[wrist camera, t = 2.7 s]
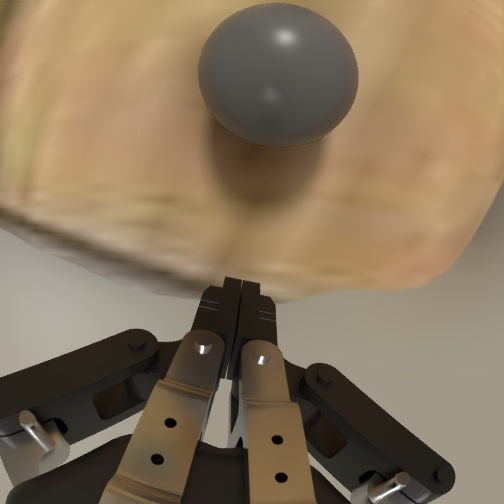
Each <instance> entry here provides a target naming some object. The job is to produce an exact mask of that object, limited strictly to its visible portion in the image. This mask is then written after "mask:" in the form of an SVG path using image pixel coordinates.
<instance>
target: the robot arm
mask: <svg viewBox="0 0 504 504" xmlns="http://www.w3.org/2000/svg"><path fill="white" fill-rule="evenodd" d="M241 284H242V288H241ZM228 362H229V364H228ZM227 367H228V371H227ZM226 371H227V379H229V380H232V388H231V392H230V396H229V432H228V435H229V436H228V445H227V448H217V447H214V446H212V445H209V444H207V443H204V442H203V438H204V434H205V430H206V427H207V423H208V419H209V415H210V411H211V408H212V404H213V400H214V396H215V393H216V391H217V390H218V387H219V382H220V378H223V379H224V378H225V375H226ZM142 410H144V411H143V413H142V415H141V417H140V419H139V422H138V424H137V426H136V428H135V431H134V433H133V434H128V435H124V436H120V437H118V438H115V439H113V440H111V441H109V442H107V443H105V444H103V445H102V446H100V447H98V448H96V449H94V450H92V451H91V452H88V453H86V454H84V455H82V456H80V457H78V458H76V459H74V460H72V461H70V462H68V463H66V464H64V465H62V466H59V465H60V464H62V463H63V462H65V461H66V459H67V458H68V456H69V452H70V447H69V445H72V444H74V443H76V442H78V441H80V440H83V439H85V438H87V437H89V436H92V435H94V434H96V433H98V432H100V431H102V430H104V429H106V428H108V427H110V426H112V425H114V424H116V423H118V422H120V421H122V420H124V419H126V418H128V417H130V416H132V415H134V414H136V413H138V412H139V411H142ZM307 451H308V452H309V453H310V454H311V455H312V456H313V457H314V458H315V459H316V460H317V461H318V462H319V463H320V464H321V465H322V466H323V467H324V468H325V469H326V470H327V471H328V472H329V473H330V474H331V475H332V476H333V477H335V478H336V479H337V480H338V481H339V482H340V483H341V484H342V485H343V486H344V487H346V488H347V489H348V490H349V491H350V492H351V493H352V494H351V499H350V500H351V501H349V500H347V499H346V498H345V497H344V496H343V495H342V494H341V493H340V492H339V491H338V490H337V489H336V488H335V487H334V486H333V485H332V484H331V483H330V482H329V481H328V480H327V479H326V478H325V477H324V476H323V475H322V474H321V473H320V472H319V471H318V470H316V469H315V468H314V467H313V466H311V465H310V464H309V458H308V452H307ZM0 456H1V459H2V462H3V464H4V467H5V469H6V471H7V473H8V476H9V478H10V480H11V482H12V484H13V486H14V488H13V489H12V490H11V491H10V492H9V494H8V496H7V500H6V504H427V503H429V502H431V501H433V500H435V499H436V498H438V497H440V496H442V495H444V494H446V493H447V492H449V491H450V490H451V489H452V487H453V485H454V483H455V471H454V469H453V467H452V466H451V464H450V463H449V462H447V461H446V460H445V459H444V458H442V457H441V456H440V455H438V454H437V453H436V452H435V451H433V450H432V449H431V448H430V447H428V446H427V445H426V444H424V443H423V442H422V441H421V440H420V439H419V438H417V437H416V436H415V435H414V434H412V433H411V432H410V431H409V430H407V429H406V428H405V427H404V426H403V425H401V424H400V423H399V422H398V421H396V420H395V419H394V418H393V417H392V416H390V415H389V414H388V413H387V412H386V411H385V410H383V409H382V408H381V407H380V406H379V405H378V404H376V403H375V402H374V401H373V400H372V399H371V398H369V397H368V396H367V395H366V394H365V393H363V392H362V391H361V390H360V389H359V388H358V387H356V386H355V385H354V384H353V383H352V382H351V381H350V380H349V379H347V378H346V377H345V376H344V375H343V374H342V373H341V372H339V371H338V370H337V369H336V368H334V367H333V366H331V365H328V364H324V363H315V364H312V365H310V366H309V367H308V368H307V369H304V368H302V367H299V366H296V365H294V364H292V363H290V362H288V361H287V360H285V359H284V358H283V355H282V352H281V351H280V349H279V348H278V346H277V327H276V307H275V304H274V302H273V300H272V299H271V297H268V296H263V295H260V283H256V282H251V281H246V280H243V283H242V280H241V279H235V278H230V277H226V276H225V280H224V284H223V288H221V287H216V286H212V285H211V286H210V287H208V288H207V289H206V290H204V292H203V295H202V298H201V301H200V304H199V307H198V310H197V313H196V316H195V319H194V322H193V325H192V328H191V331H190V332H188V333H187V334H186V335H185V336H184V337H183V339H181V340H179V341H174V342H158V341H157V339H156V337H155V336H154V335H153V334H152V333H150V332H148V331H146V330H143V329H129V330H126V331H124V332H121V333H119V334H116V335H114V336H111V337H108V338H106V339H103V340H101V341H98V342H96V343H93V344H90V345H88V346H85V347H83V348H80V349H77V350H75V351H72V352H70V353H67V354H64V355H61V356H59V357H56V358H53V359H51V360H48V361H45V362H43V363H40V364H37V365H34V366H31V367H29V368H26V369H23V370H20V371H17V372H15V373H12V374H9V375H6V376H4V377H1V378H0ZM58 466H59V467H58Z"/></svg>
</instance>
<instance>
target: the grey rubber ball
mask: <svg viewBox="0 0 504 504" xmlns="http://www.w3.org/2000/svg"><path fill="white" fill-rule="evenodd" d="M198 78H199V86H200V90H201V94H202V97H203V99H204V101H205V103H206V105H207V107H208V109H209V110H210V112H211V113H212V114H213V116H214V117H215V118H216V119H217V120H218V121H219V122H220V123H221V124H222V125H223V126H224V127H225V128H226V129H228V130H229V131H231V132H232V133H233V134H235V135H237V136H239V137H241V138H242V139H245V140H247V141H250V142H252V143H256V144H259V145H264V146H270V147H292V146H298V145H303V144H306V143H309V142H312V141H315V140H317V139H319V138H321V137H323V136H324V135H326V134H328V133H329V132H331V131H332V130H333V129H334V128H335V127H336V126H338V125H339V123H340V122H341V121H342V120H343V119H344V118H345V117H346V115H347V114H348V112H349V110H350V109H351V107H352V105H353V103H354V100H355V97H356V93H357V88H358V67H357V62H356V58H355V55H354V52H353V50H352V48H351V46H350V44H349V43H348V41H347V39H346V38H345V37H344V35H343V34H342V33H341V32H340V31H339V29H338V28H337V27H335V26H334V25H333V24H332V23H331V22H330V21H328V20H327V19H326V18H324V17H323V16H321V15H319V14H318V13H316V12H314V11H311V10H309V9H307V8H304V7H300V6H297V5H292V4H286V3H267V4H261V5H255V6H252V7H249V8H245V9H243V10H241V11H239V12H236V13H235V14H233V15H231V16H230V17H228V18H227V19H226V20H224V21H223V22H222V23H221V24H220V25H219V26H218V27H217V28H216V29H215V30H214V31H213V32H212V34H211V35H210V37H209V38H208V40H207V41H206V43H205V45H204V47H203V50H202V53H201V56H200V60H199V66H198Z"/></svg>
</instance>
